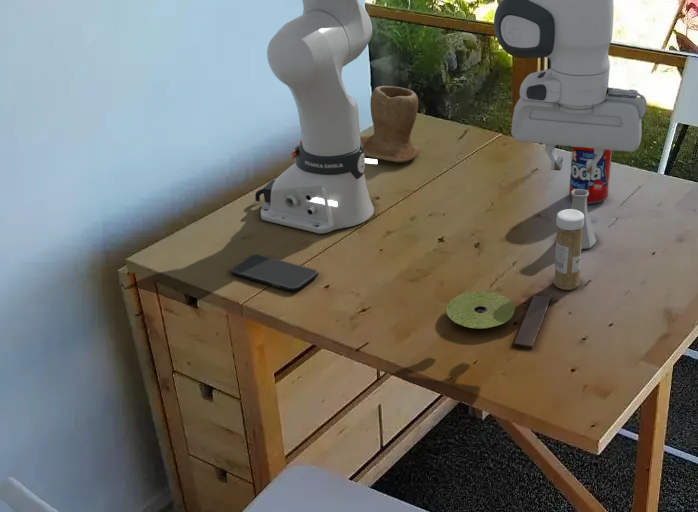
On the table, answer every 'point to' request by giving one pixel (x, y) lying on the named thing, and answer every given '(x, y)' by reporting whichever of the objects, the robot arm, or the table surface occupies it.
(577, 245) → the sprinkles bottle
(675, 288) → the table surface
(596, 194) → the soda can
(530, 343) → the walnut strip
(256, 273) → the smartphone
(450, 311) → the green flat disc
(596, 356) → the table surface
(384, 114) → the stone cup
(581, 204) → the flask
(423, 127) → the table surface
